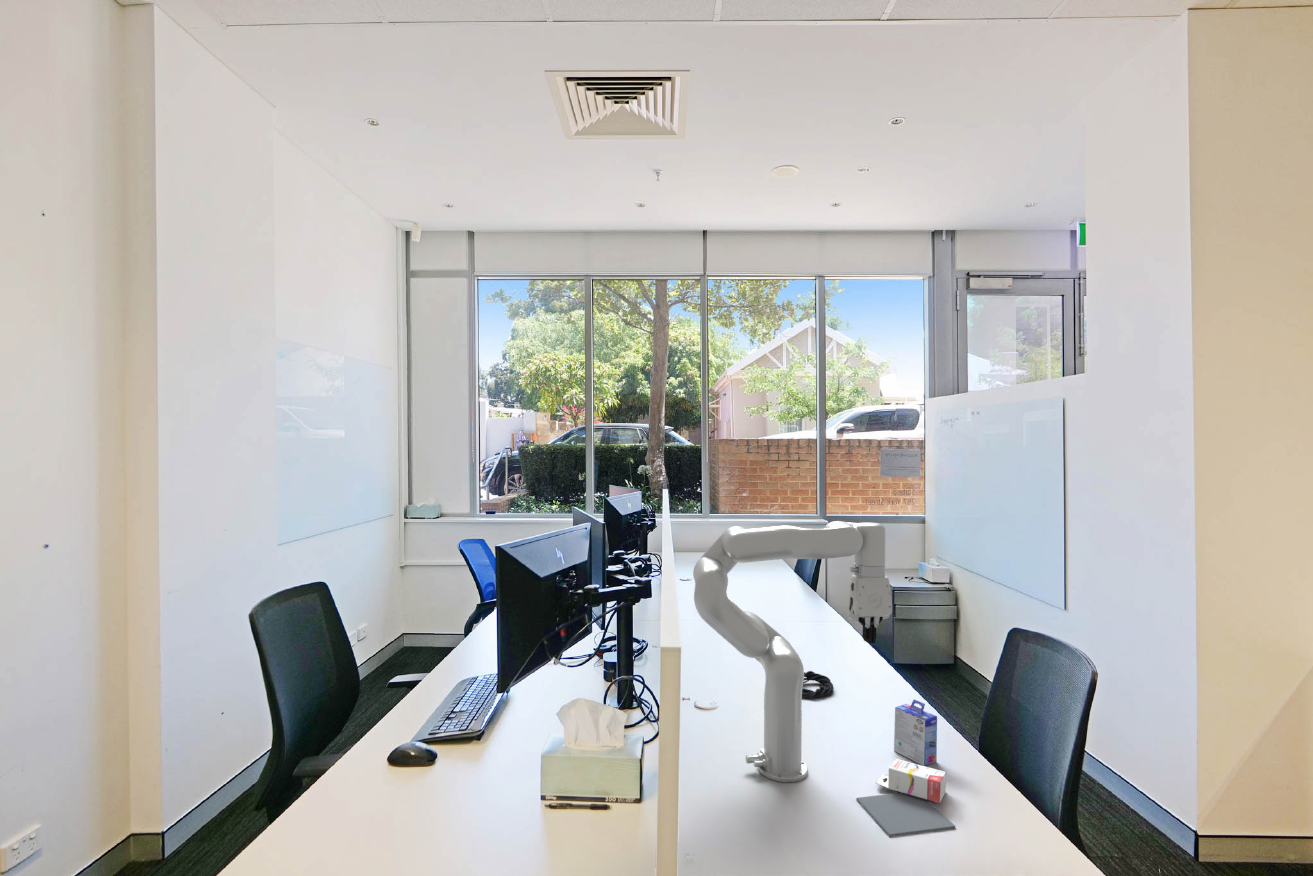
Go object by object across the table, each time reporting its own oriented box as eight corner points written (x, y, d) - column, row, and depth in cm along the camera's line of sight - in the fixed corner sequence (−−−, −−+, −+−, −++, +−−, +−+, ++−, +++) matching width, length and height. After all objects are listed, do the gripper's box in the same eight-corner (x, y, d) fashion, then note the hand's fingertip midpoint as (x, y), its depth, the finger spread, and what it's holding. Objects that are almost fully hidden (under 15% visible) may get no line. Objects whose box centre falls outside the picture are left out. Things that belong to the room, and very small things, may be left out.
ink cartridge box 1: (938, 762, 167) (938, 707, 167) (925, 767, 164) (925, 712, 164) (906, 746, 176) (906, 694, 176) (893, 751, 173) (893, 698, 173)
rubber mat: (889, 836, 136) (889, 834, 136) (856, 799, 149) (856, 797, 149) (955, 828, 139) (955, 826, 139) (917, 793, 153) (917, 790, 153)
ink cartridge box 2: (940, 781, 147) (875, 764, 154) (940, 804, 146) (874, 785, 154) (946, 770, 154) (883, 754, 162) (945, 792, 153) (882, 775, 161)
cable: (819, 680, 225) (819, 667, 225) (846, 694, 212) (846, 681, 212) (779, 687, 218) (779, 674, 218) (804, 703, 205) (804, 689, 205)
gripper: (850, 575, 158) (849, 648, 158) (904, 572, 161) (903, 644, 161) (836, 568, 165) (835, 639, 165) (888, 567, 168) (887, 635, 168)
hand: (869, 641), depth 163 cm, fingers closed
